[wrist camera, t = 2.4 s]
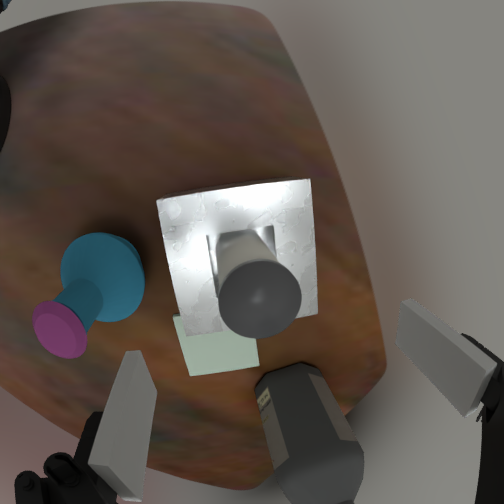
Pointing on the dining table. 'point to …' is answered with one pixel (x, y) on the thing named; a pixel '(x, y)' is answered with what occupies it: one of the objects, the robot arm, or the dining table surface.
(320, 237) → the dining table surface
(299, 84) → the dining table surface
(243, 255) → the salt shaker
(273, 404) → the liquor
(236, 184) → the housing
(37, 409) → the dining table surface
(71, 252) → the perfume bottle
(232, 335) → the mat
